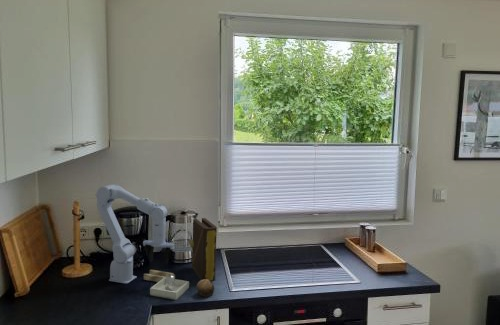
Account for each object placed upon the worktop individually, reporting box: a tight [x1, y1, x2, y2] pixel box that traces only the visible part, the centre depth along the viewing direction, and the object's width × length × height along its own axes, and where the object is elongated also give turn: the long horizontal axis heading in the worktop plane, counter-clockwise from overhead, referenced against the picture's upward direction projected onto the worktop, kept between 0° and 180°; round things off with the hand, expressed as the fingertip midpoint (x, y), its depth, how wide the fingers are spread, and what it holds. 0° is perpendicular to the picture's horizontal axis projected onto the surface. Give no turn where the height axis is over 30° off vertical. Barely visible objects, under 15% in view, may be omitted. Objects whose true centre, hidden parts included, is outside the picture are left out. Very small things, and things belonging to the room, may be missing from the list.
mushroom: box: [196, 279, 215, 297], centre depth 160 cm, size 8×8×6 cm
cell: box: [165, 274, 176, 291], centre depth 160 cm, size 4×4×7 cm
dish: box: [149, 278, 190, 301], centre depth 161 cm, size 12×12×3 cm
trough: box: [143, 269, 175, 283], centre depth 173 cm, size 12×6×2 cm, turn 74°
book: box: [189, 217, 218, 283], centre depth 181 cm, size 22×8×25 cm, turn 25°
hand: (158, 262), depth 168 cm, fingers open, 7 cm apart
